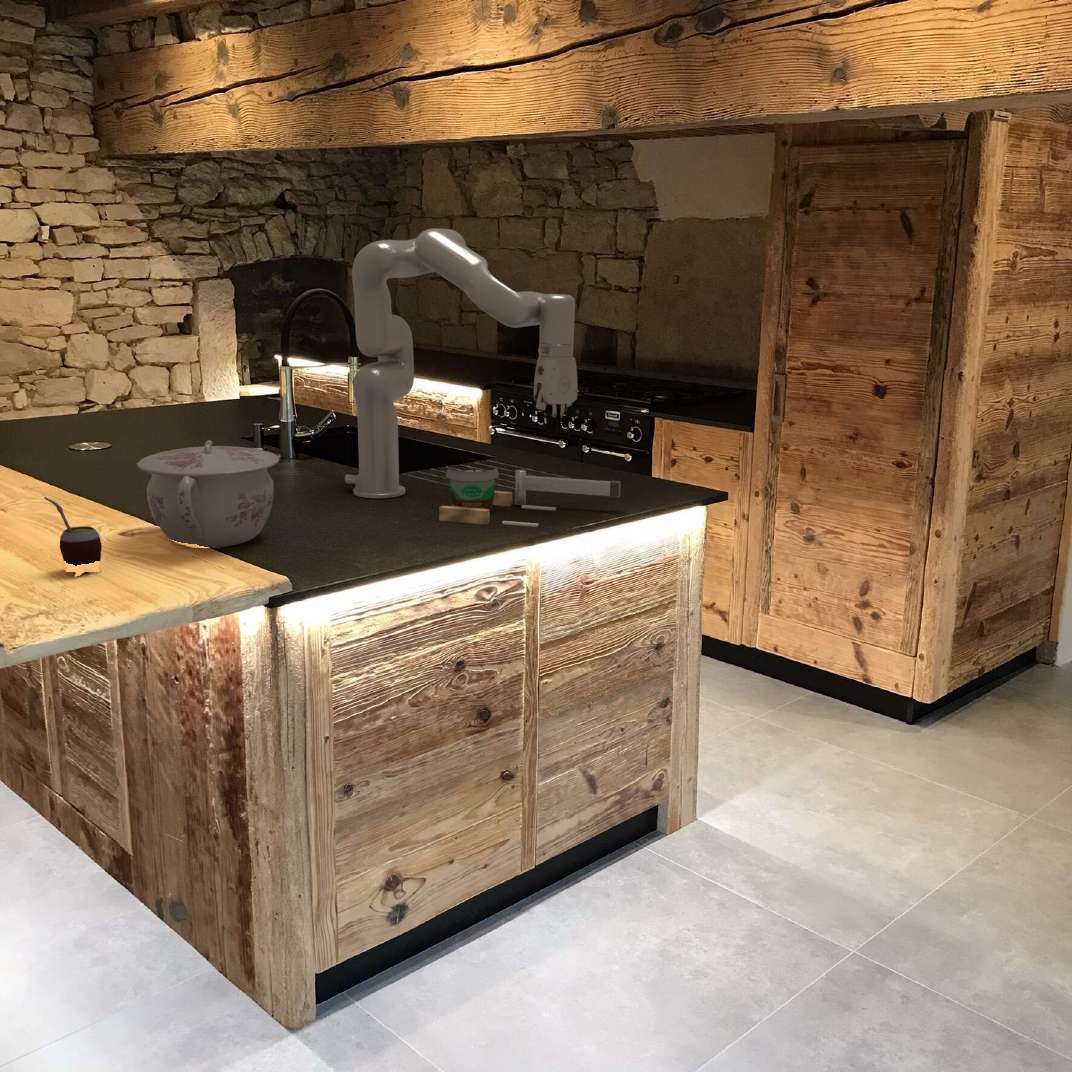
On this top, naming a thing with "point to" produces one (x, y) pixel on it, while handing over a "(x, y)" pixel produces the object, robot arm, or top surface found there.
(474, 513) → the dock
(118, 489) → the top surface
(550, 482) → the retention gate
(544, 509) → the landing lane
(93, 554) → the mate gourd
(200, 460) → the chamber pot
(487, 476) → the food container
